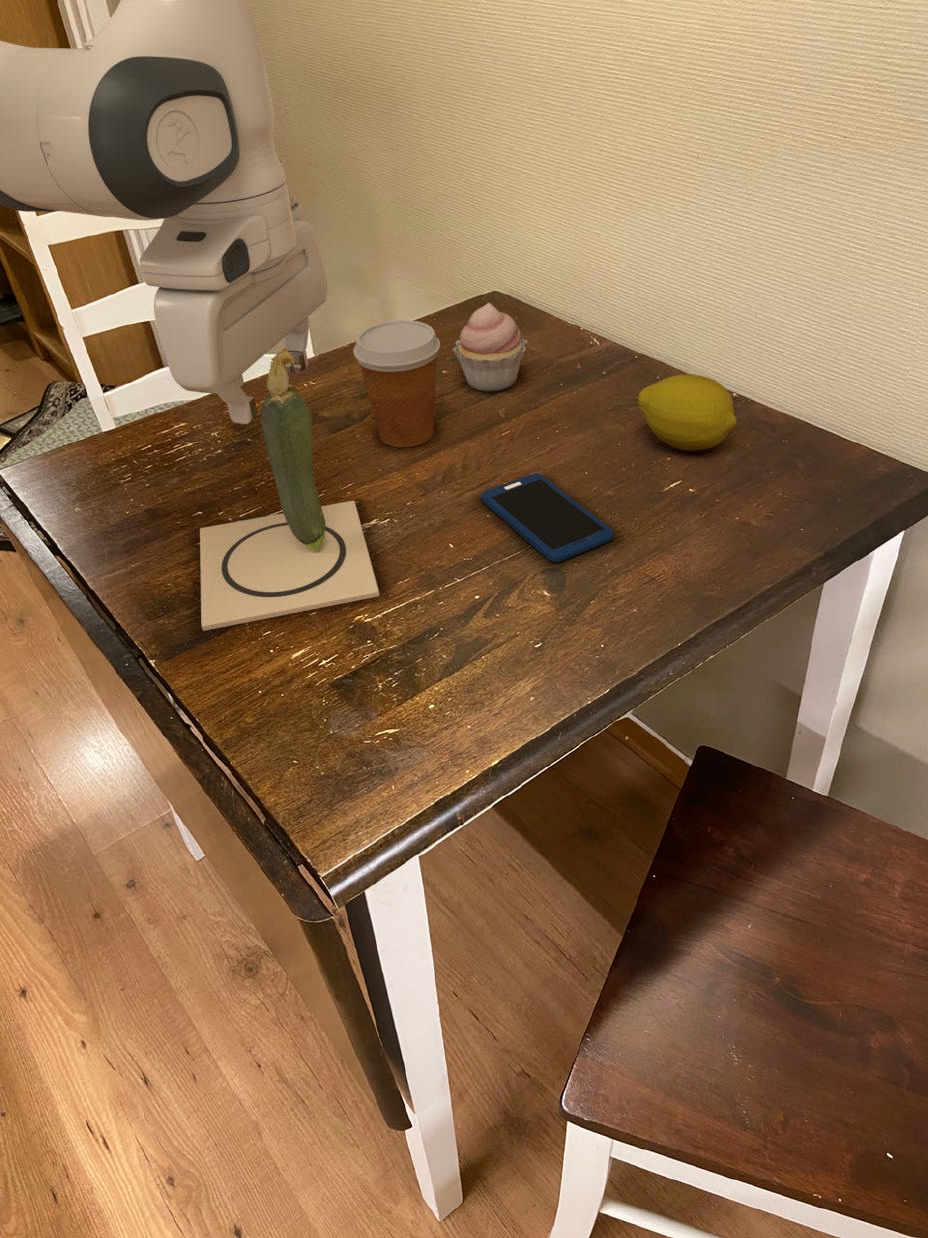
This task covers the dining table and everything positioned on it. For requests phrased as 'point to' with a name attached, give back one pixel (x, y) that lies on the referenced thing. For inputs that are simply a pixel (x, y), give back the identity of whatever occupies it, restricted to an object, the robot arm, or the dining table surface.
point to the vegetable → (292, 454)
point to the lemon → (688, 411)
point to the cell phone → (547, 517)
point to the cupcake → (490, 350)
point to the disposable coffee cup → (400, 379)
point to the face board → (281, 568)
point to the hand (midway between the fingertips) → (272, 394)
